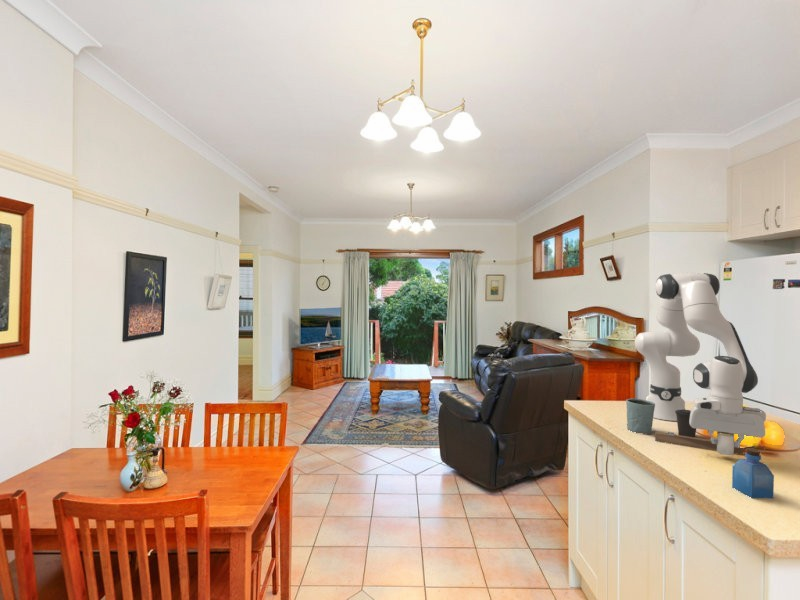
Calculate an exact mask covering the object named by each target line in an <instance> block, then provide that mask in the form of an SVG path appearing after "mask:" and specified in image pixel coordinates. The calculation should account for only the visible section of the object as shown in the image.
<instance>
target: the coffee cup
mask: <svg viewBox="0 0 800 600" xmlns="http://www.w3.org/2000/svg"><path fill="white" fill-rule="evenodd" d="M675 413H676V416H677V421H676V422H677V423H676V424H677V432H678V434H677V435H681V436H687V437H694V438H696V433H697V429H696V428H692V427H691V426H690V424H689V419H690V413H691V410H690V409H685V410H676V411H675Z"/></svg>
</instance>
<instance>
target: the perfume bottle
mask: <svg viewBox="0 0 800 600" xmlns="http://www.w3.org/2000/svg"><path fill="white" fill-rule="evenodd" d="M744 457H745V458H739V459H738V460H737V461H736V462H735V463H734V464H733V465H732V471H731V473H732V475H731V476H732V478H731V479H732V481H731V488H732V489H734V488H735V489H736V491H737V490H738V491H737V492H739V491H740V492H739V493H741V494H743V495H744V496H746V495H747V496H746V497H748V496H749V497H748V498H750V497H751V498H750V499H774V494H775V492H774V490H775V489H774V486H775V483H774V482H775V475H774V474H773V472H772V471H771V469H770V468H769V466H768V464H765V463H763V462H761V461H762V455H761V450H759V449H756V448H754V447H750V448H745V453H744ZM735 489H734V490H735Z"/></svg>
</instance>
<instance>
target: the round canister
mask: <svg viewBox="0 0 800 600" xmlns="http://www.w3.org/2000/svg"><path fill="white" fill-rule="evenodd" d="M716 438H717V439H718V442H717V443H718V444H717V451H716V452H717V453H718V454H721V455H723V456H724V455H725V456H731V457H732V456H734V434H732V433H724V432H717V431H716Z"/></svg>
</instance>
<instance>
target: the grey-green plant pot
mask: <svg viewBox="0 0 800 600" xmlns="http://www.w3.org/2000/svg"><path fill="white" fill-rule="evenodd" d="M625 402H626V422H627V423H626V426H627V427H626V428H627V431H629V430H630V432H631V431H632V432H631V433H634V432H636V433H635V434H638V433H643V434H642V435H650V434H652V432H653V431H652V430H653V421H654V418H653V416H654V409H655V403H653V402H651V401H647V400H646V399H641V398H628V399H627V398H626V399H625ZM649 433H650V434H649Z"/></svg>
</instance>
